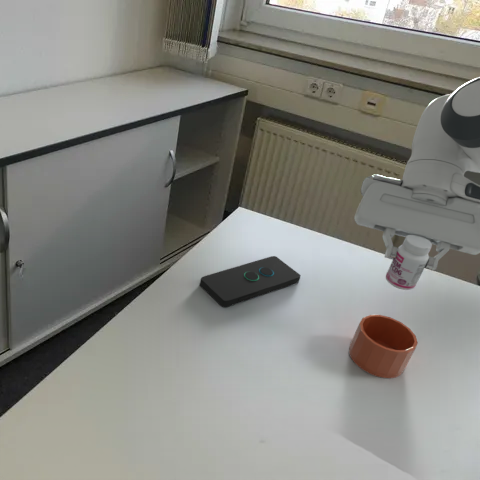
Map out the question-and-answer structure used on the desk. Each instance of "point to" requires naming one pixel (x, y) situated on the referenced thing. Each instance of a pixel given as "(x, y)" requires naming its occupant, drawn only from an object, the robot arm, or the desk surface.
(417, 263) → the pill bottle
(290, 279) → the smart home device
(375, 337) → the terracotta cup
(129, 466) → the desk surface
